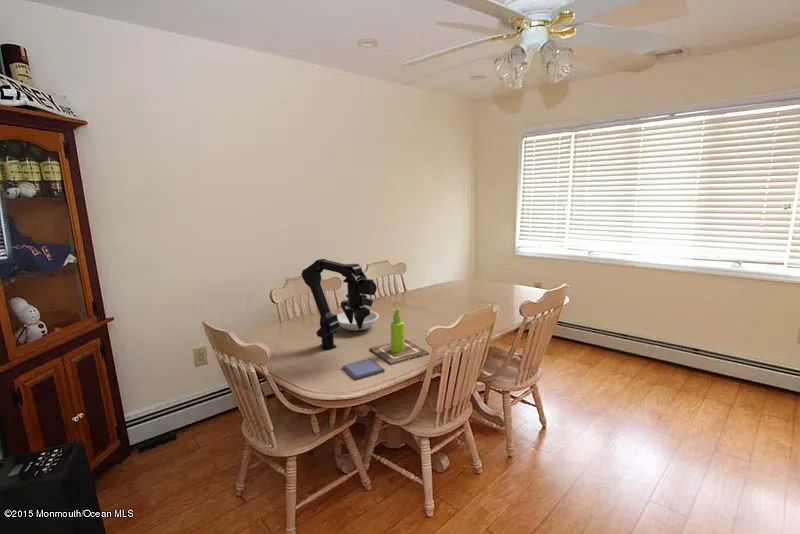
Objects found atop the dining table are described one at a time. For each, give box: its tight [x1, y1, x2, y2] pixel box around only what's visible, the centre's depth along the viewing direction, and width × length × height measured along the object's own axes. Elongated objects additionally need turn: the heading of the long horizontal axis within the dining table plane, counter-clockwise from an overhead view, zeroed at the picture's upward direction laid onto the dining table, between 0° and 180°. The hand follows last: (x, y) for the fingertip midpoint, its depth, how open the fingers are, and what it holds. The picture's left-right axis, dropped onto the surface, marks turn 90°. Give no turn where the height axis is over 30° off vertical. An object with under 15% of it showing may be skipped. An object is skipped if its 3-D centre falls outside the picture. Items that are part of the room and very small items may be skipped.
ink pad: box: [341, 358, 386, 381], centre depth 163 cm, size 13×13×1 cm
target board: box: [368, 338, 430, 365], centre depth 181 cm, size 20×20×1 cm
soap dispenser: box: [390, 307, 405, 353], centre depth 179 cm, size 6×7×20 cm
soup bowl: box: [336, 310, 380, 331], centre depth 213 cm, size 24×24×7 cm
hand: (355, 326), depth 178 cm, fingers open, 9 cm apart
